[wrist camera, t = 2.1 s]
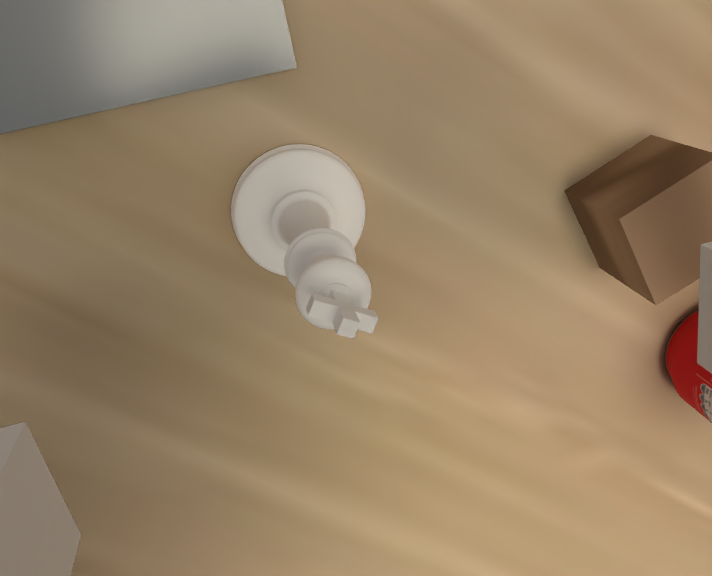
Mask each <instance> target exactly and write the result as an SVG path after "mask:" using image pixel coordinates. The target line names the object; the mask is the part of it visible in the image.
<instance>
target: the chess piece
mask: <svg viewBox="0 0 712 576" xmlns="http://www.w3.org/2000/svg"><path fill="white" fill-rule="evenodd" d="M231 219H232V225H233V228H234V231H235V234H236V236H237V239H238V240H239V242H240V244H241V245H242V247H243V248H244V250H245V251H246V253H247V254H248V255H249V256H250V257H251V258H252V259H253V260H254V261H255V262H256V263H257V264H259V265H260V266H261V267H263V268H265V269H266V270H268V271H270V272H273V273H275V274H278V275H282V276H287V278H288V280H289V282H290V283H291V284H292V285H293V287H295V288H296V290H295V299H296V304H297V307H298V310H299V312H300V313H301V315H302V316H303V317H304V318H305V319H306V320H307V321H308V322H309V323H311V324H312V325H314V326H316V327H319V328H323V329H335V331H336V334H338V335H342V336H345V337H349V338H352V339H354V337H355V335H356V332H357V330H360V331H364V332H368V333H371V334H372V333H373V331H374V328H375V326H376V324H377V321H378V319H379V318H378V316H377V314H376V312H375V311H373V310H369V309H367V308H368V305H369V303H370V299H371V283H370V280H369V278H368V276H367V274H366V272H365V271H364V270H363V269H362V268H361V267H360V266H359V265H358V264H357V263H356V253H355V250H354V248H355V246H356V244H357V243H358V241H359V239H360V236H361V234H362V231H363V227H364V223H365V201H364V196H363V192H362V189H361V186H360V183H359V181H358V179H357V177H356V175H355V174H354V172H353V171H352V170H351V168H350V167H349V166H348V165H347V164H346V163H345V162H344V161H343V160H342V159H341V158H339V157H338V156H337V155H335V154H333V153H332V152H330V151H328V150H326V149H323V148H320V147H317V146H313V145H306V144H292V145H285V146H281V147H278V148H275V149H272V150H270V151H268V152H266V153H264V154H263V155H261V156H260V157H258V158H257V159H256V160H254V161H253V162H252V163H251V164H250V165H249V166H248V167H247V168H246V170H245V171H244V172H243V174H242V175H241V177H240V178H239V180H238V182H237V184H236V187H235V189H234V192H233V196H232V202H231Z"/></svg>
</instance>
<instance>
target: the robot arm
mask: <svg viewBox="0 0 712 576" xmlns="http://www.w3.org/2000/svg"><path fill="white" fill-rule="evenodd" d="M697 363H698V364H699V365H701V366H702V367H703V368H705V369H706V370H707V371H709V372H710V373H711V374H712V242H708V243H704V244H701V252H700V285H699V317H698V349H697ZM80 538H81V534H80V532H79V530H78V528H77V526H76V524H75V522H74V519H73V517H72V515H71V513H70V511H69V509H68V507H67V505H66V503H65V501H64V499H63V497H62V495H61V493H60V491H59V489H58V487H57V485H56V483H55V481H54V479H53V477H52V475H51V473H50V471H49V469H48V467H47V465H46V462H45V460H44V458H43V456H42V454H41V452H40V450H39V448H38V446H37V444H36V442H35V440H34V438H33V436H32V434H31V432H30V430H29V428H28V426H27V424H26V422H22V423H18V424H14V425H10V426H7V427H3V428H0V576H70V575H71V572H72V568H73V564H74V560H75V557H76V553H77V549H78V545H79V542H80Z"/></svg>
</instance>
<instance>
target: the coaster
mask: <svg viewBox="0 0 712 576" xmlns="http://www.w3.org/2000/svg"><path fill="white" fill-rule="evenodd" d="M293 68H297V65H296V60H295V56H294V51H293V47H292V42H291V37H290V33H289V28H288V24H287V19H286V15H285V10H284V6H283V1H282V0H0V134H2V133H7V132H11V131H16V130H20V129H25V128H29V127H33V126H38V125H42V124H47V123H51V122H56V121H60V120H65V119H69V118H74V117H78V116H83V115H87V114H92V113H96V112H101V111H105V110H110V109H114V108H118V107H123V106H127V105H132V104H136V103H141V102H145V101H150V100H154V99H159V98H163V97H168V96H172V95H177V94H181V93H186V92H190V91H195V90H199V89H203V88H208V87H212V86H217V85H221V84H226V83H230V82H235V81H239V80H244V79H248V78H253V77H257V76H262V75H266V74H271V73H275V72H280V71H284V70H288V69H293Z"/></svg>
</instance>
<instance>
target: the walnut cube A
mask: <svg viewBox="0 0 712 576" xmlns="http://www.w3.org/2000/svg"><path fill="white" fill-rule="evenodd" d="M565 193H566V195H567V197H568V199H569V202H570V204H571V206H572V208H573V210H574V213H575V215H576V217H577V219H578V221H579V223H580V226H581V228H582V230H583V232H584V234H585V236H586V239H587V241H588V243H589V245H590V247H591V249H592V252H593V254H594V256H595V258H596V260H597V263H598V265H599V267H600V268H601V269H603V270H604V271H606V272H607V273H608V274H610V275H611V276H613V277H614V278H616V279H617V280H619V281H620V282H622V283H623V284H625V285H626V286H628V287H629V288H631V289H632V290H634V291H635V292H637V293H638V294H640V295H641V296H643V297H644V298H646V299H647V300H649V301H650V302H652V303H653V304H655V305H657V304H659V303H660V302H662V301H664V300H665V299H667V298H668V297H670V296H672V295H673V294H675V293H676V292H678V291H680V290H681V289H683V288H684V287H686V286H687V285H689V284H691V283H692V282H694V281H695V280H697V279H699V278H700V252H701V244H704V243H708V242H712V152H708V151H705V150H701V149H698V148H694V147H691V146H687V145H684V144H680V143H677V142H673V141H670V140H667V139H663V138H660V137H656V136H653V135H651V136H649V137H647V138H646V139H644V140H643V141H641V142H640V143H638V144H637V145H635V146H633V147H632V148H630V149H629V150H627V151H626V152H624V153H623V154H621V155H619V156H618V157H616V158H615V159H613V160H612V161H610V162H609V163H607V164H605V165H604V166H602V167H601V168H599V169H598V170H596V171H594V172H593V173H591V174H590V175H588V176H587V177H585V178H584V179H582V180H580V181H579V182H577V183H576V184H574V185H573V186H571V187H570V188H568V189H566V190H565Z"/></svg>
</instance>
